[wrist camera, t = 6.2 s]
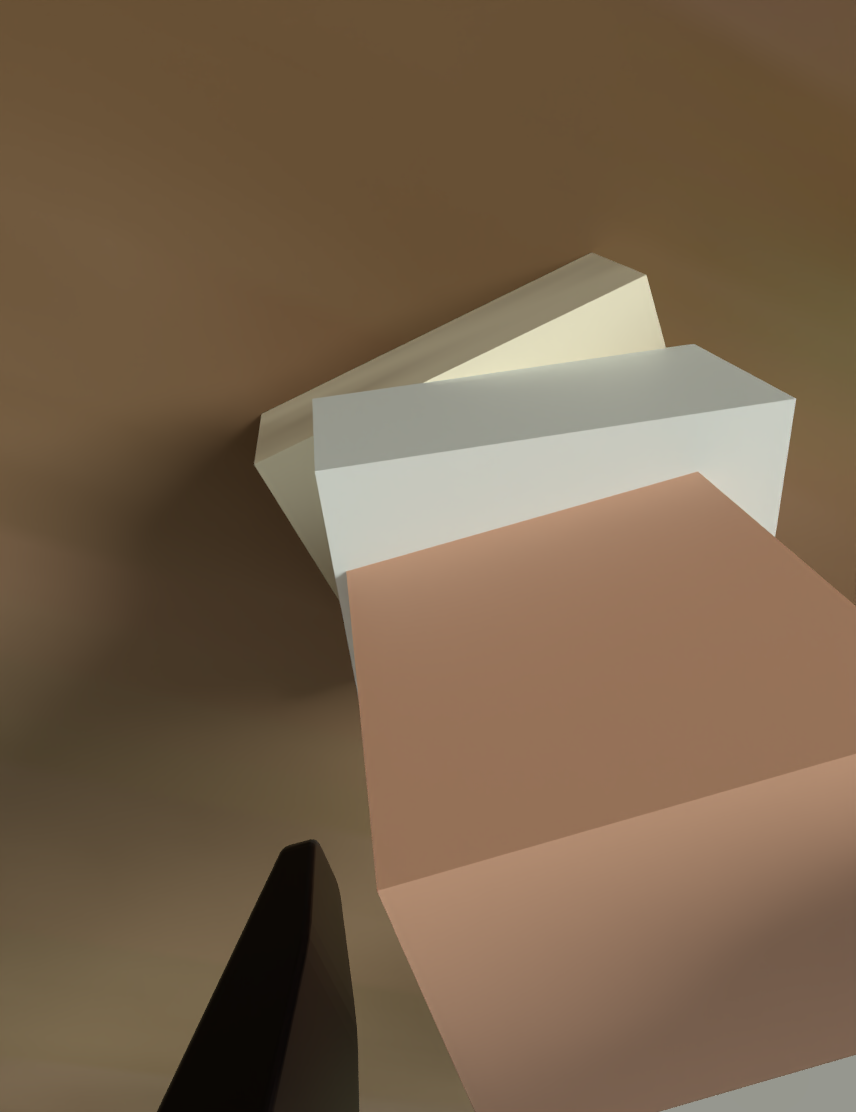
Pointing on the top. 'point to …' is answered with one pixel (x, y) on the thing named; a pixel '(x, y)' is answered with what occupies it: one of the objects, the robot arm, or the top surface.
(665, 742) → the cube
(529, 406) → the tower top
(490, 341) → the tower base
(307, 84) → the top surface
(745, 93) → the top surface
